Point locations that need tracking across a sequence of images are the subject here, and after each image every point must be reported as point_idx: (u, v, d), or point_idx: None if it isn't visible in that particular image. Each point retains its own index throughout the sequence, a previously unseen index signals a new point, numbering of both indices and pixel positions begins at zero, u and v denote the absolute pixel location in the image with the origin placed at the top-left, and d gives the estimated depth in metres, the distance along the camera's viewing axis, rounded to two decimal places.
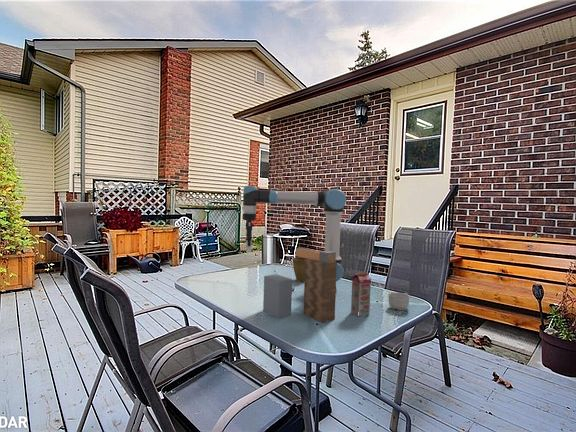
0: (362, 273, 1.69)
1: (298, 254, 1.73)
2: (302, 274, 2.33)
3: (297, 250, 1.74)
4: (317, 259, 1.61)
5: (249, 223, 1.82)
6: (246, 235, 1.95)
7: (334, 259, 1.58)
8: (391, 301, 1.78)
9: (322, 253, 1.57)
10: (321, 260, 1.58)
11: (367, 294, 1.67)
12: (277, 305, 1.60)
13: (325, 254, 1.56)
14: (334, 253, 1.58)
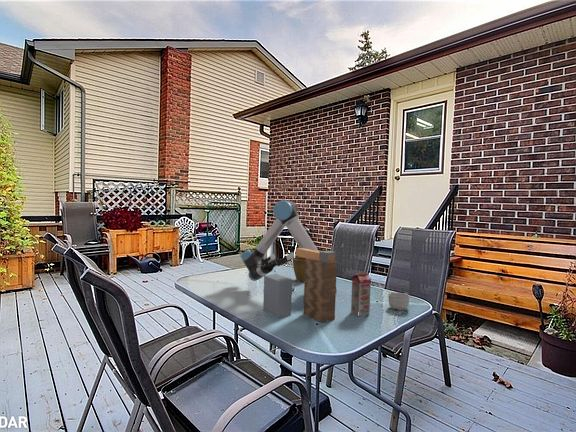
0: (362, 273, 1.69)
1: (298, 254, 1.73)
2: (302, 274, 2.33)
3: (297, 250, 1.74)
4: (317, 259, 1.61)
5: (260, 265, 1.93)
6: (286, 260, 1.95)
7: (334, 259, 1.58)
8: (391, 301, 1.78)
9: (322, 253, 1.57)
10: (321, 260, 1.58)
11: (367, 294, 1.67)
12: (277, 305, 1.60)
13: (325, 254, 1.56)
14: (334, 253, 1.58)
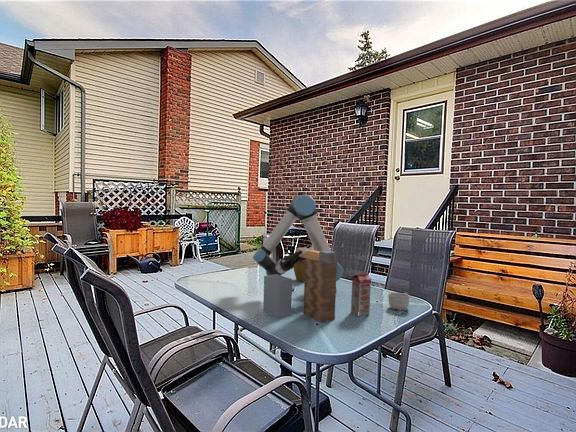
0: (362, 273, 1.69)
1: None
2: (302, 274, 2.33)
3: (297, 250, 1.74)
4: (317, 259, 1.61)
5: (282, 261, 1.76)
6: None
7: (334, 259, 1.58)
8: (391, 301, 1.78)
9: (322, 253, 1.57)
10: (321, 260, 1.58)
11: (367, 294, 1.67)
12: (277, 305, 1.60)
13: (325, 254, 1.56)
14: (334, 253, 1.58)
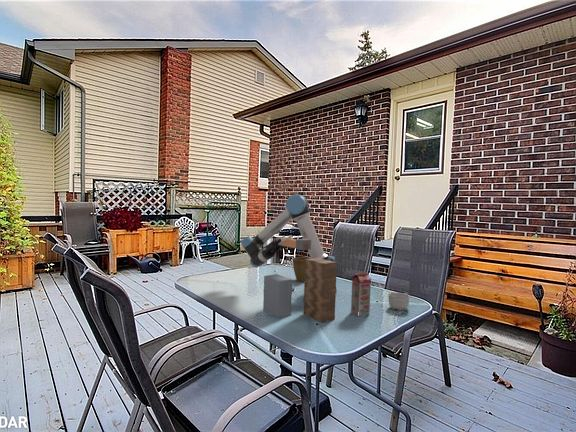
0: (362, 273, 1.69)
1: None
2: (302, 274, 2.33)
3: (277, 239, 1.85)
4: (294, 246, 1.73)
5: (263, 249, 1.88)
6: None
7: (309, 246, 1.70)
8: (391, 301, 1.78)
9: (298, 240, 1.69)
10: (297, 247, 1.70)
11: (367, 294, 1.67)
12: (277, 305, 1.60)
13: (301, 241, 1.68)
14: (309, 241, 1.70)
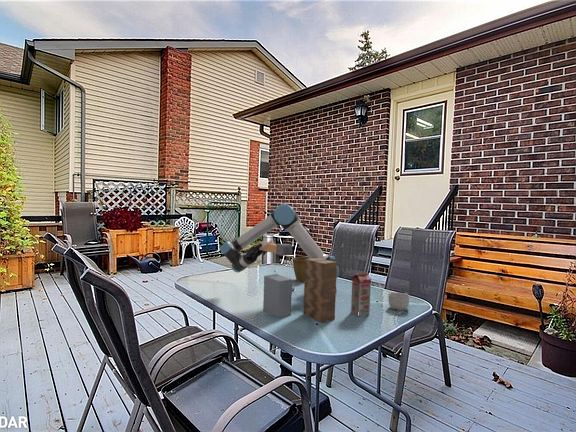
0: (362, 273, 1.69)
1: None
2: (302, 274, 2.33)
3: (258, 243, 1.77)
4: (275, 252, 1.65)
5: (244, 254, 1.80)
6: None
7: (290, 252, 1.62)
8: (391, 301, 1.78)
9: (278, 246, 1.61)
10: (278, 252, 1.62)
11: (367, 294, 1.67)
12: (277, 305, 1.60)
13: (281, 246, 1.60)
14: (290, 246, 1.62)
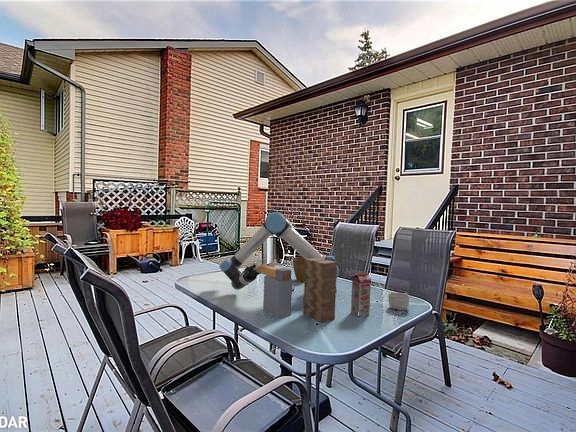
0: (362, 273, 1.69)
1: (258, 270, 1.77)
2: (302, 274, 2.33)
3: None
4: (274, 276, 1.66)
5: (242, 274, 1.81)
6: None
7: (289, 277, 1.63)
8: (391, 301, 1.78)
9: (278, 271, 1.62)
10: (277, 277, 1.62)
11: (367, 294, 1.67)
12: (277, 305, 1.60)
13: (280, 272, 1.60)
14: (290, 271, 1.63)
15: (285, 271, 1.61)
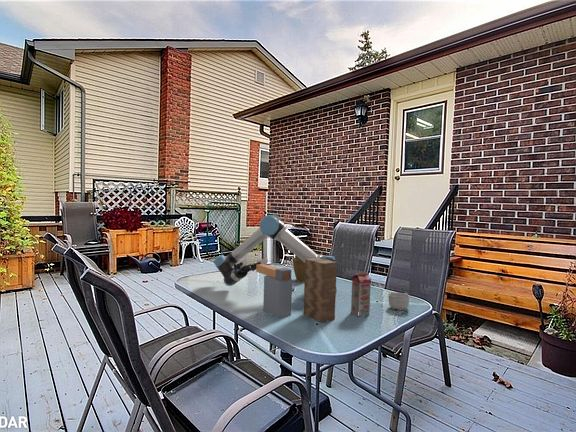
0: (362, 273, 1.69)
1: (258, 270, 1.77)
2: (302, 274, 2.33)
3: (257, 266, 1.78)
4: (274, 276, 1.66)
5: (233, 271, 1.89)
6: None
7: (289, 277, 1.63)
8: (391, 301, 1.78)
9: (278, 271, 1.62)
10: (277, 277, 1.62)
11: (367, 294, 1.67)
12: (277, 305, 1.60)
13: (280, 272, 1.60)
14: (290, 271, 1.63)
15: (285, 271, 1.61)
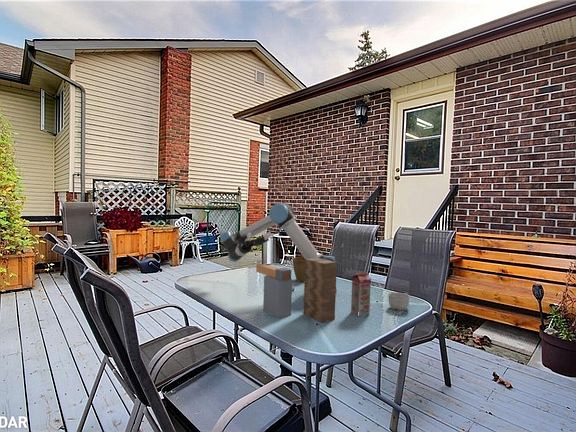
0: (362, 273, 1.69)
1: (258, 270, 1.77)
2: (302, 274, 2.33)
3: (257, 266, 1.78)
4: (274, 276, 1.66)
5: (237, 245, 1.95)
6: (264, 240, 1.98)
7: (289, 277, 1.63)
8: (391, 301, 1.78)
9: (278, 271, 1.62)
10: (277, 277, 1.62)
11: (367, 294, 1.67)
12: (277, 305, 1.60)
13: (280, 272, 1.60)
14: (290, 271, 1.63)
15: (285, 271, 1.61)
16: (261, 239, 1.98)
